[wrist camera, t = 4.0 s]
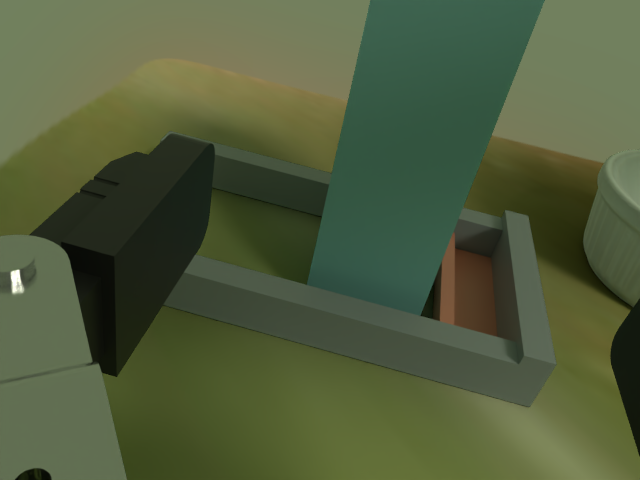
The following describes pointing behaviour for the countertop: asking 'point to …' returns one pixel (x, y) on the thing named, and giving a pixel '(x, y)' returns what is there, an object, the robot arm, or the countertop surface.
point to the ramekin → (616, 226)
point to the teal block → (414, 141)
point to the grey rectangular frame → (380, 321)
